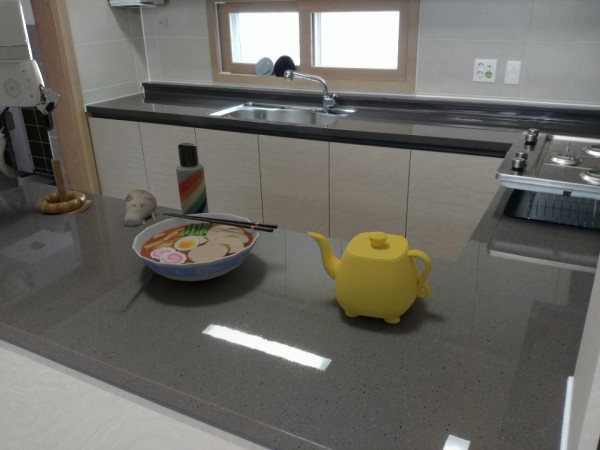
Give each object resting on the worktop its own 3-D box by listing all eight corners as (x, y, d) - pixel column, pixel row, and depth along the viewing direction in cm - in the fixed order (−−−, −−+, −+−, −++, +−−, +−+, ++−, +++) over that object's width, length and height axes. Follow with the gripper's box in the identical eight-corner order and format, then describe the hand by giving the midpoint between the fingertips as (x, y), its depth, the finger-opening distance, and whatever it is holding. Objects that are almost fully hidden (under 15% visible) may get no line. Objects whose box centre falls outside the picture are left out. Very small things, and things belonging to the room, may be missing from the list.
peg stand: (39, 217, 129) (26, 164, 124) (59, 204, 138) (47, 154, 132) (74, 217, 128) (63, 164, 123) (92, 204, 137) (82, 154, 131)
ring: (28, 214, 128) (25, 205, 127) (53, 198, 138) (51, 189, 137) (72, 215, 127) (70, 205, 126) (94, 198, 137) (92, 189, 136)
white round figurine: (116, 234, 119) (109, 190, 120) (139, 235, 128) (132, 195, 129) (146, 226, 117) (138, 182, 118) (167, 228, 127) (160, 188, 128)
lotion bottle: (179, 232, 118) (167, 143, 110) (200, 225, 121) (190, 138, 114) (194, 239, 114) (182, 148, 106) (215, 231, 118) (206, 142, 110)
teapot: (424, 338, 79) (429, 260, 74) (296, 317, 85) (292, 244, 80) (435, 292, 90) (440, 222, 85) (322, 276, 97) (320, 211, 92)
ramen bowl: (106, 287, 96) (98, 246, 93) (183, 238, 115) (178, 202, 112) (225, 316, 86) (220, 271, 83) (287, 256, 105) (285, 218, 102)
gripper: (-35, 56, 116) (-16, 134, 123) (40, 55, 115) (55, 134, 121) (-13, 52, 123) (5, 126, 130) (58, 52, 121) (72, 127, 128)
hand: (29, 130), depth 126 cm, fingers open, 9 cm apart
